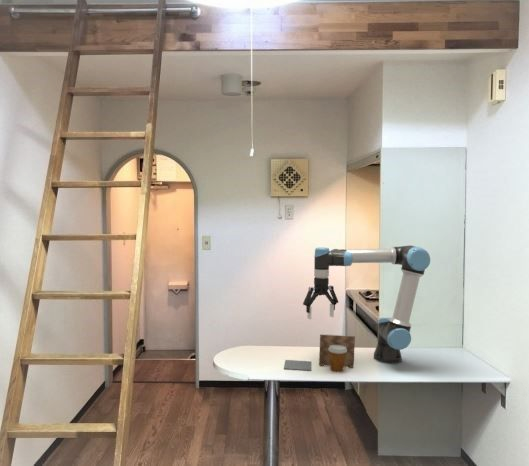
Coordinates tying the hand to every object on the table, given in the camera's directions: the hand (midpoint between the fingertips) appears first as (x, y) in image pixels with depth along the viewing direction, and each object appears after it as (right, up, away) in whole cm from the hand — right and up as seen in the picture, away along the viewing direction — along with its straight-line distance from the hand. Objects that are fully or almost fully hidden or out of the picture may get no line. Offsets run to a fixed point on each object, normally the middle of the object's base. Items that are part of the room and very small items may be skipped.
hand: (320, 317), depth 254 cm
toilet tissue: (+8, -25, +23) cm, 35 cm away
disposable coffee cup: (+8, -26, -5) cm, 28 cm away
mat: (-12, -25, 0) cm, 28 cm away
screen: (+8, -26, +2) cm, 27 cm away
